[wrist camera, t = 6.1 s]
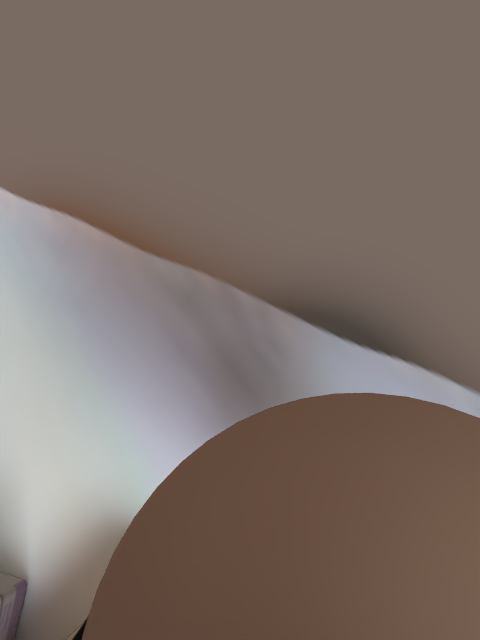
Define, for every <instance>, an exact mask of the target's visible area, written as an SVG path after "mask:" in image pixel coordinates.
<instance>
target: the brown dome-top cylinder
mask: <svg viewBox="0 0 480 640" xmlns="http://www.w3.org/2000/svg"><path fill="white" fill-rule="evenodd" d="M82 640H480V418H478V417H475V416H472V415H469V414H467V413H464V412H461V411H458V410H455V409H453V408H450V407H447V406H444V405H440V404H436V403H432V402H427V401H423V400H419V399H414V398H410V397H404V396H395V395H385V394H376V393H343V394H330V395H323V396H317V397H310V398H304V399H299V400H296V401H292V402H289V403H286V404H282V405H279V406H275V407H272V408H269V409H266V410H264V411H262V412H260V413H257V414H255V415H253V416H251V417H248V418H246V419H244V420H242V421H239V422H237V423H236V424H234V425H232V426H231V427H229V428H228V429H226V430H224V431H223V432H221V433H219V434H218V435H216V436H214V437H213V438H211V439H210V440H208V441H207V442H206V443H205V444H203V445H202V446H201V447H200V448H198V449H197V450H196V451H195V452H193V453H192V454H191V455H190V456H188V457H187V458H186V459H185V460H183V461H182V462H181V463H180V464H179V465H178V466H177V467H176V468H175V469H174V470H173V472H172V473H171V474H170V475H169V476H168V477H167V478H166V479H165V480H164V481H163V482H162V483H161V484H160V485H159V486H158V487H157V488H156V490H155V491H154V492H153V494H152V495H151V496H150V498H149V499H148V500H147V502H146V503H145V504H144V506H143V507H142V508H141V510H140V511H139V512H138V513H137V515H136V516H135V517H134V519H133V521H132V522H131V524H130V526H129V528H128V529H127V531H126V533H125V534H124V536H123V538H122V540H121V541H120V543H119V545H118V546H117V548H116V550H115V552H114V554H113V556H112V558H111V560H110V563H109V565H108V567H107V569H106V572H105V574H104V576H103V578H102V581H101V583H100V585H99V587H98V590H97V592H96V595H95V598H94V601H93V605H92V608H91V611H90V614H89V617H88V620H87V623H86V626H85V629H84V632H83V637H82Z"/></svg>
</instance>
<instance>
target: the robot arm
mask: <svg viewBox="0 0 480 640" xmlns="http://www.w3.org/2000/svg"><path fill="white" fill-rule="evenodd" d="M88 617H89V616H88ZM88 617H87V619H86V620H85V621H84V623H83V624H82V626H81V627H80V629H79V630H78V632H77V633H76V634H75V636H74V637H73V639H72V640H82V637H83V632H84V629H85V626H86V623H87V620H88Z"/></svg>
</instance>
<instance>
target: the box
mask: <svg viewBox="0 0 480 640" xmlns="http://www.w3.org/2000/svg"><path fill="white" fill-rule="evenodd" d="M26 588H27V582H26V581H25V580H22V579H19V578H16V577H13V576H11V575H8V574H6V573H3V572H0V640H14V636H15V632H16V628H17V624H18V620H19V616H20V612H21V608H22V604H23V600H24V596H25V592H26Z"/></svg>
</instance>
